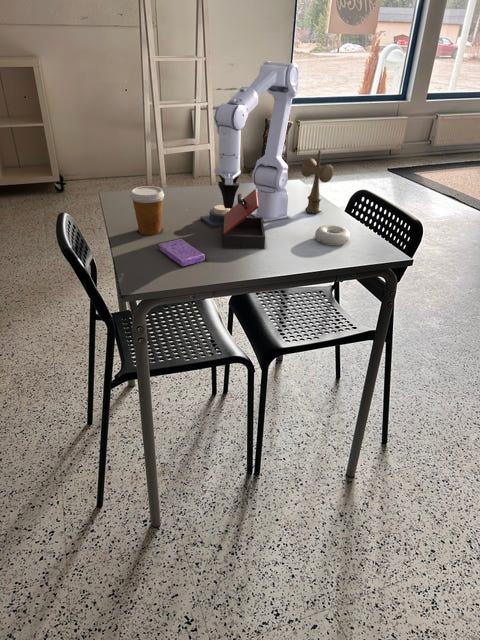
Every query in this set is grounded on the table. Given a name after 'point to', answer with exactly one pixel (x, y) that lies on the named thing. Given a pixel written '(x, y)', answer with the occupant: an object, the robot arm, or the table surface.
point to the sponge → (182, 252)
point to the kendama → (316, 181)
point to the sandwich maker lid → (240, 211)
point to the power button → (220, 210)
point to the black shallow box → (246, 234)
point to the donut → (332, 235)
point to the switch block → (213, 219)
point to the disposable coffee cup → (148, 208)
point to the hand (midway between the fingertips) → (228, 203)
